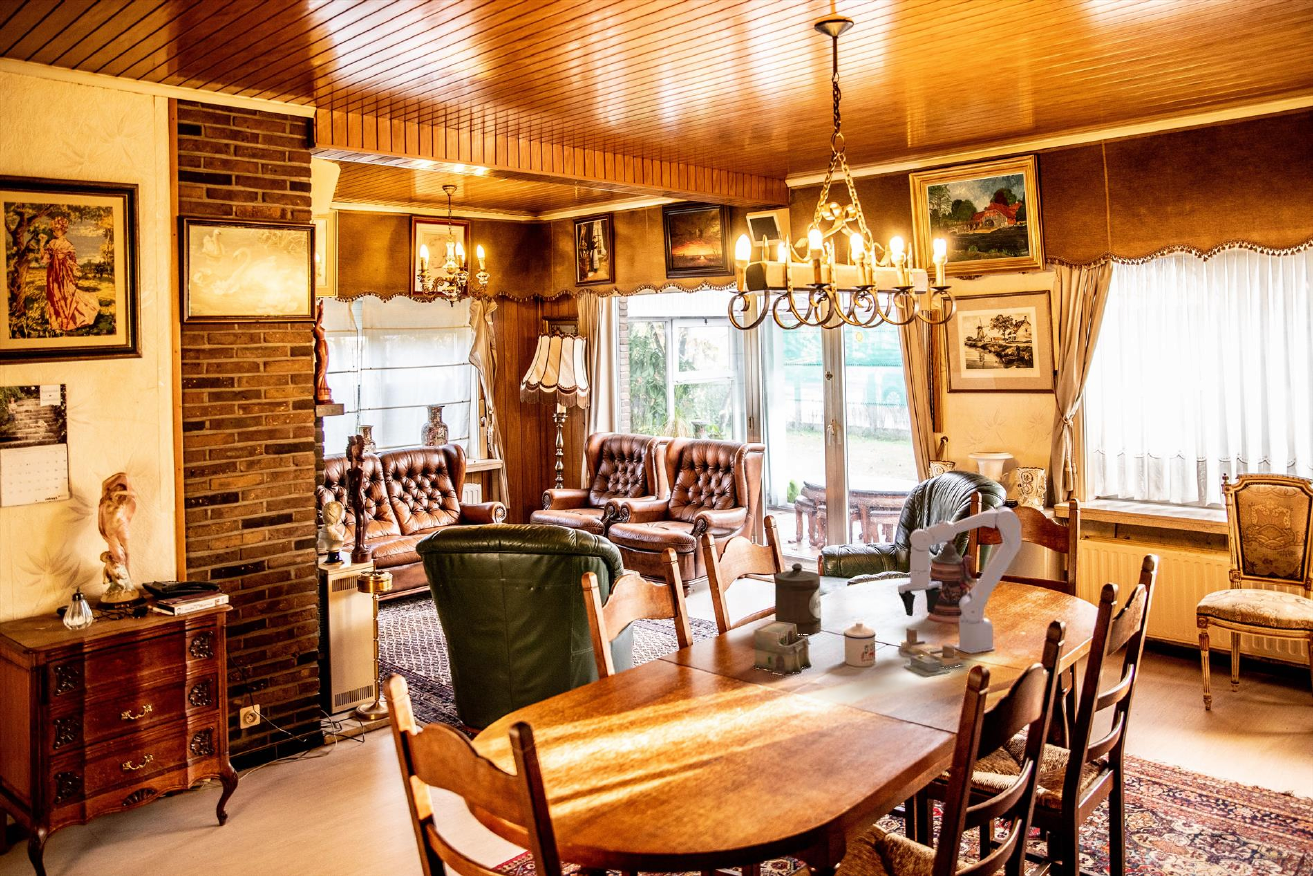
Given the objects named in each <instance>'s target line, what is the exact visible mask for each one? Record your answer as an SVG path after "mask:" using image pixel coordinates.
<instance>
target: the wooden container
mask: <svg viewBox="0 0 1313 876" xmlns="http://www.w3.org/2000/svg"><path fill="white" fill-rule="evenodd" d="M791 569H792V570H788V571H782V572H778V573H776V574H775V576H774V577H775V578H774V584H775V587H774V589H775V591H774V592H775V593H774V595H775V600H774V614H775V615H774V616H775V618H774V619H775V621H777V622H784V623H791V624H796V628H797V634H800V635H801V634H802V635H803V634H812V635H815V634H814V633H816V634H818V633H820V632H821V631H820V630H822V608H821V607H822V605H821V604H822V603H821V575H820V574H819V573H817V572H814V571H808V570H807V571H806V570H803V565H802V564H801V563H799V562H798V563H797V562H795V563H794V564H792V566H791ZM819 631H820V632H819ZM817 632H818V633H817Z"/></svg>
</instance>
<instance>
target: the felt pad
mask: <svg viewBox="0 0 1313 876" xmlns="http://www.w3.org/2000/svg"><path fill="white" fill-rule="evenodd" d="M905 667H906V668H905ZM903 668H905V669H907V670H909V669H910V670H909V671H911V670H912V671H911V672H914V673H916V672H917V673H916V674H919V675H920V674H921V675H920V676H923V677H925V676H927V677H932V676H931V675H933V676H936V675H935V674H939V675H943V674H942V673H944V674H947V673H946V672H949V673H950V670H949V669H944V668H941V667H940V671H936V672H931V673H927V672H925V671H923V670H921V669H918V668H916V667H914V666H911V664H906V665H903Z"/></svg>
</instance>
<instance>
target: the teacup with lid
mask: <svg viewBox="0 0 1313 876" xmlns="http://www.w3.org/2000/svg"><path fill="white" fill-rule="evenodd" d="M843 636H844V662H845V663H846V664H847V665H848V666H852V667H859V668H861V667H862V668H866V667H870V665H871V666H873V665H875V664H876V631H875V630H873V629H871V628H869V627H867V626H865V625H864V624H863V622H859V621H858V622H856V623H855V625H854V626H852V627H849V628H846V629H845V630H844V632H843Z"/></svg>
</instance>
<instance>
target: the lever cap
mask: <svg viewBox="0 0 1313 876" xmlns="http://www.w3.org/2000/svg"><path fill="white" fill-rule="evenodd" d="M910 665H911V666H914V667H916V668H918V669H921V670H923V671H925V672H927V673H931V672H936V671H940V661H937V660H935V659H932V658H930V657H928V656H925V655H923V654H918V655H915V656H913V655H911V656H910Z"/></svg>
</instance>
